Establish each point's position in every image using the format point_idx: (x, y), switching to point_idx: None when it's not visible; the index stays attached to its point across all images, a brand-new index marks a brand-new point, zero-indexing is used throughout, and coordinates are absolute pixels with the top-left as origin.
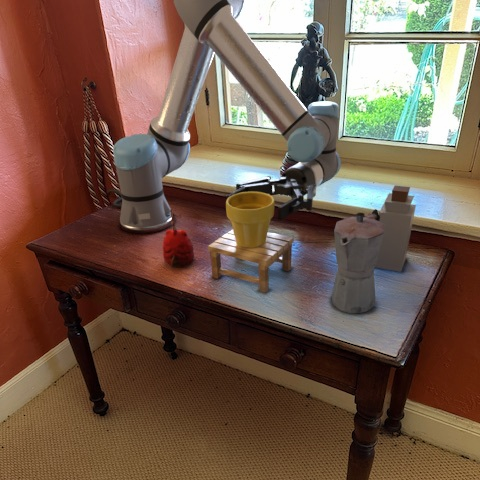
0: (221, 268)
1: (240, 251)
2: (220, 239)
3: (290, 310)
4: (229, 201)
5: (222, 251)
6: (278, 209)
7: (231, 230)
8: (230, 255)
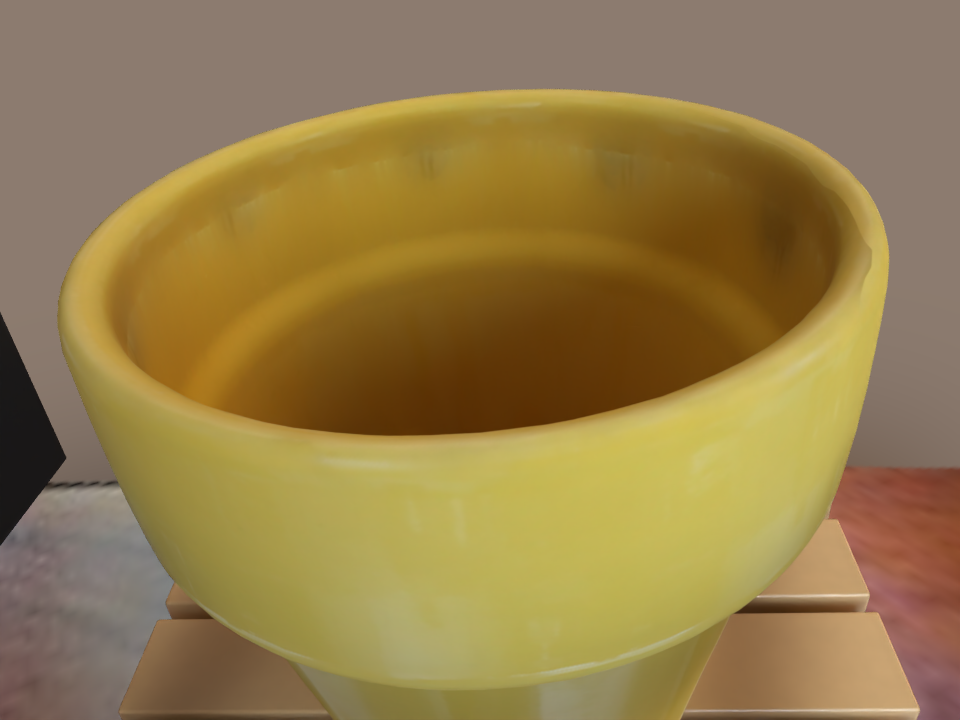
0: None
1: None
2: (826, 565)
3: (101, 572)
4: (774, 182)
5: None
6: (7, 334)
7: None
8: None
